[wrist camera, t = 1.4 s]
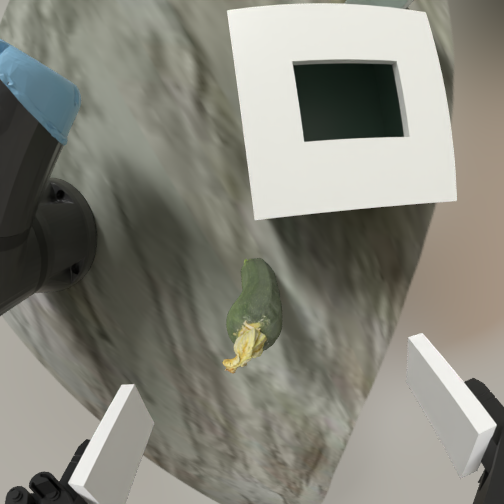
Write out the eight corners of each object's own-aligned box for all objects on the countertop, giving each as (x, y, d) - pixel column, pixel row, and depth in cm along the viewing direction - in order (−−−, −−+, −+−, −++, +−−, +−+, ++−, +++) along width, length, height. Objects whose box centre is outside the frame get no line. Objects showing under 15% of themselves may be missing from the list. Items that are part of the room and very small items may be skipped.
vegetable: (279, 255, 38) (295, 344, 18) (273, 289, 39) (281, 400, 19) (241, 249, 38) (218, 334, 18) (236, 284, 39) (213, 391, 19)
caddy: (258, 200, 36) (254, 220, 22) (240, 64, 32) (227, 10, 19) (393, 187, 35) (456, 200, 21) (375, 58, 31) (425, 12, 18)
